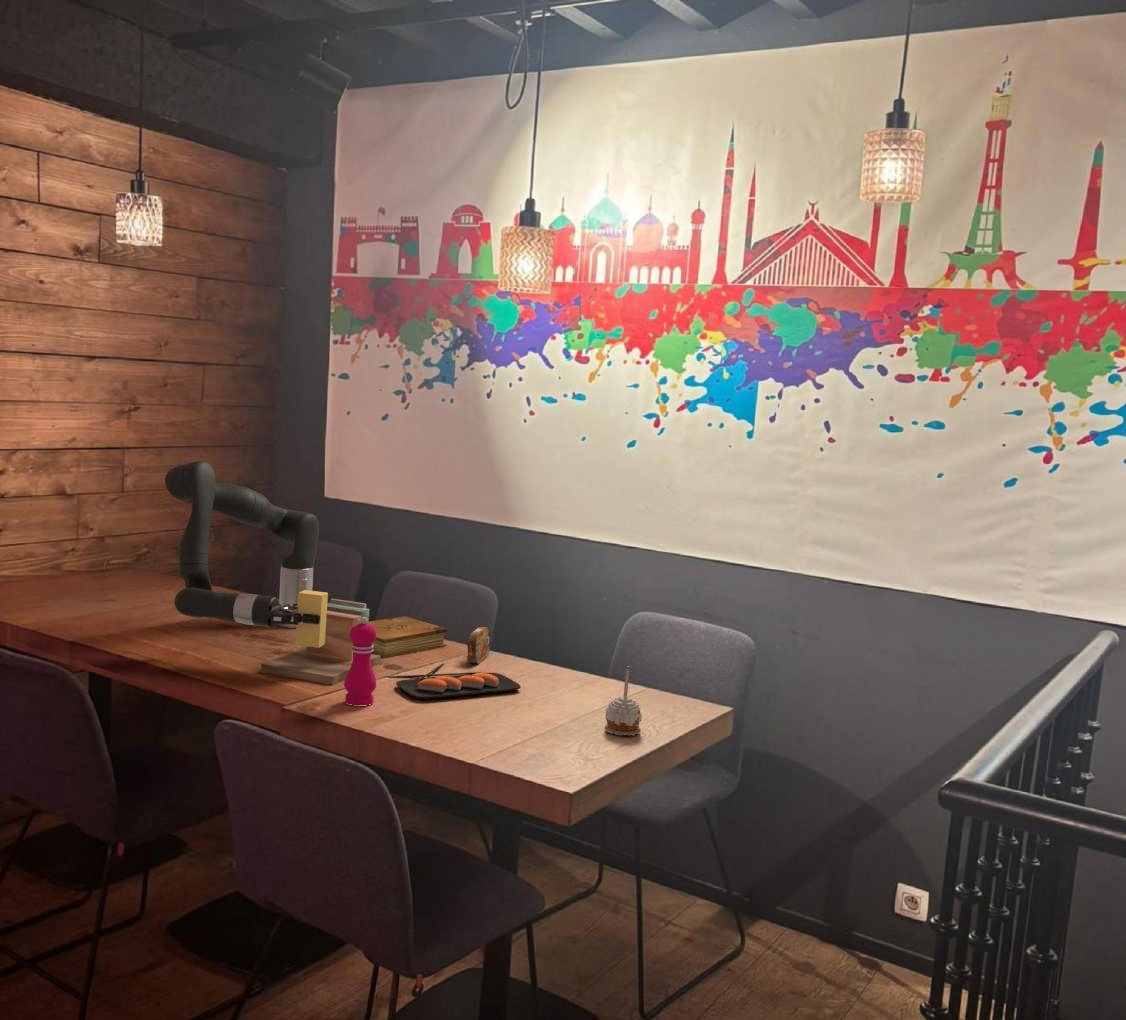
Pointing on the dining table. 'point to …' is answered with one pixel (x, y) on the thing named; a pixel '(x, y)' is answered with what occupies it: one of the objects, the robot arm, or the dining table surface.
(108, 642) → the dining table surface
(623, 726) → the caramel apple
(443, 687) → the sushi plate
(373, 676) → the pepper mill
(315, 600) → the tall mustard yellow pillar
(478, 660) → the tin
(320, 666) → the blocks on base plate
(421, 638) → the diary
